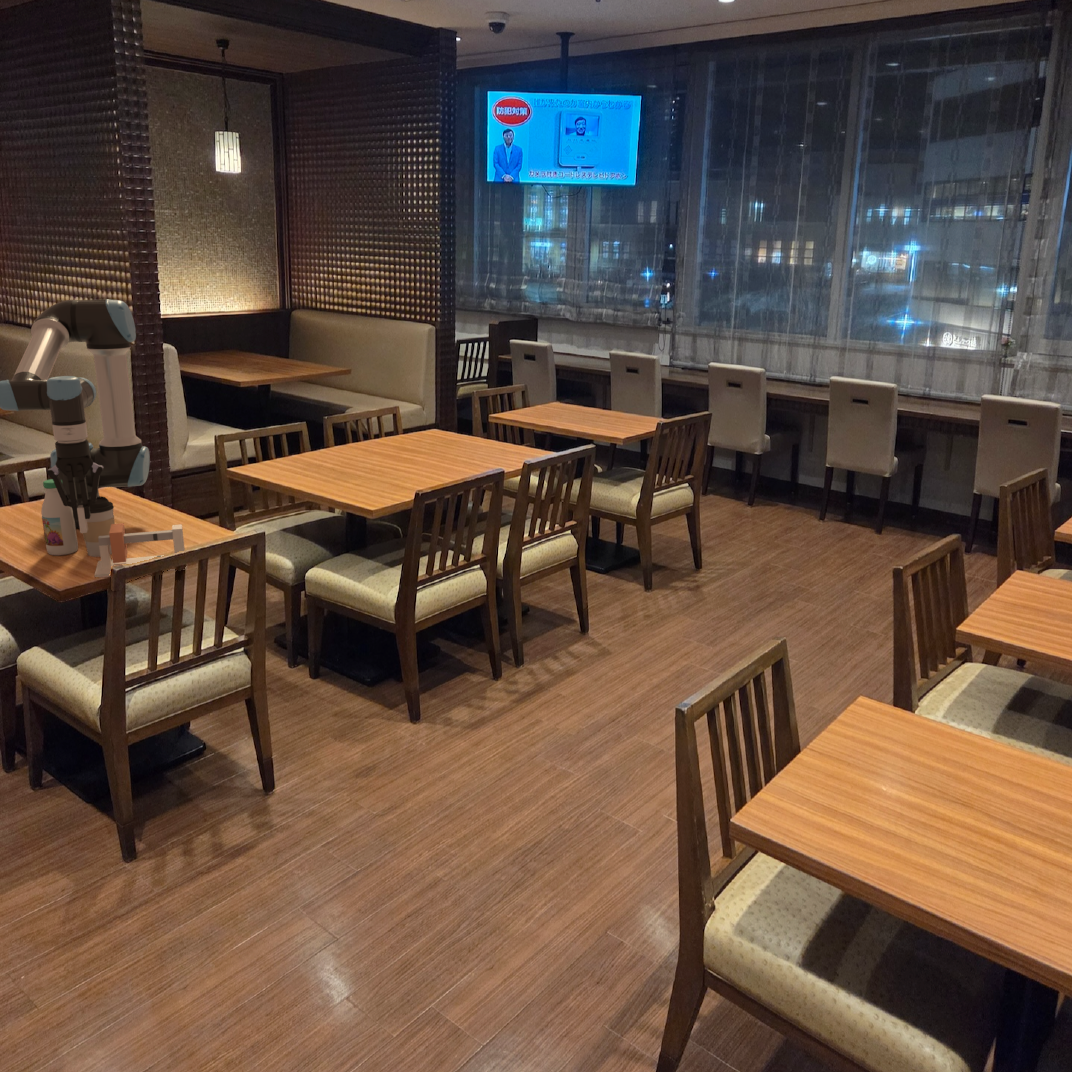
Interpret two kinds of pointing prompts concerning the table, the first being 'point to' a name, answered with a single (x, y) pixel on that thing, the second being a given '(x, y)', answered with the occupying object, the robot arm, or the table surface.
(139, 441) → the robot arm
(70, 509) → the milk bottle
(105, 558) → the rail
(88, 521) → the coffee cup
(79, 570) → the table surface
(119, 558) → the notched orange block
